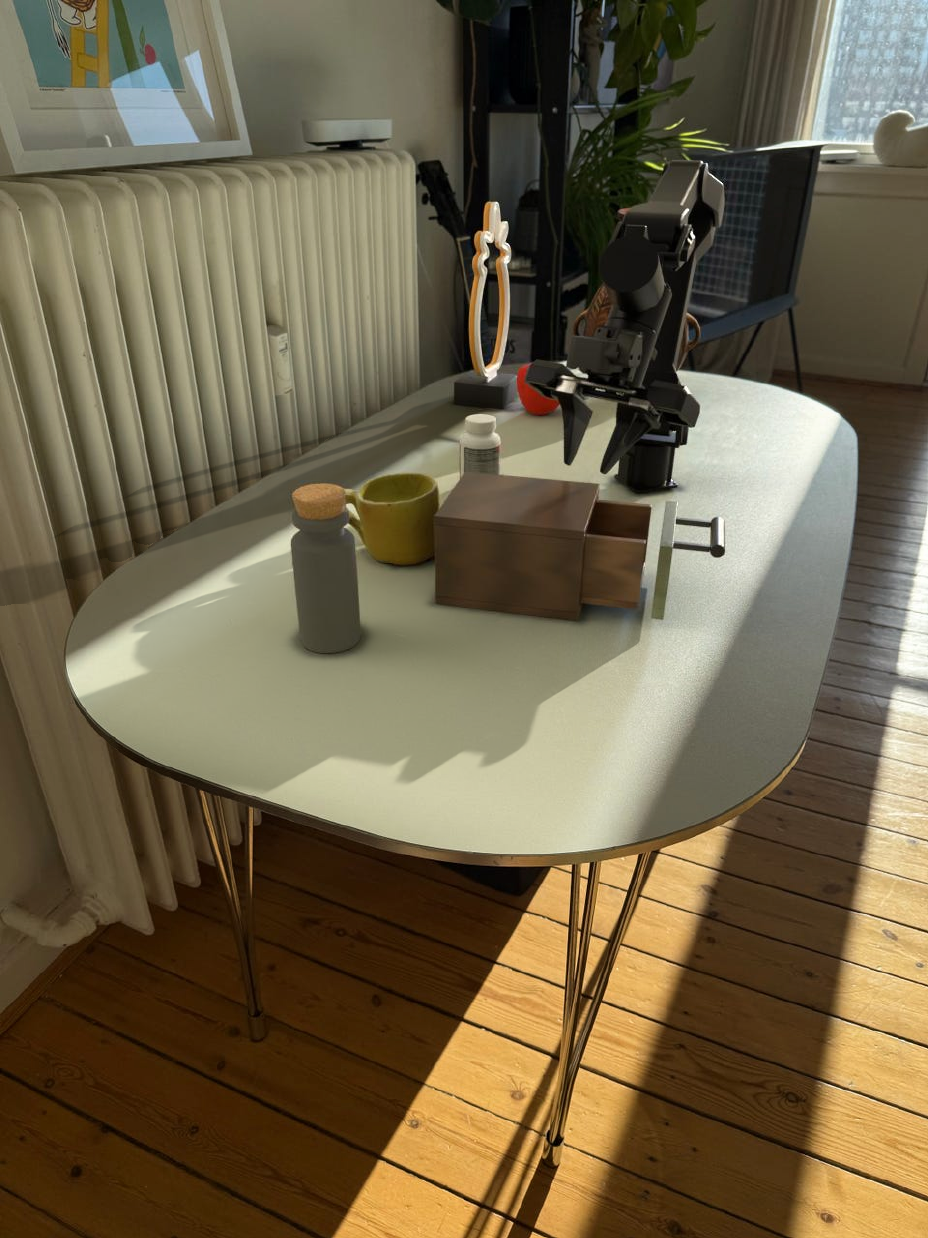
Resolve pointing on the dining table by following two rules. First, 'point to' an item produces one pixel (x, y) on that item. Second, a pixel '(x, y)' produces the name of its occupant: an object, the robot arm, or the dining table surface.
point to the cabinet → (513, 544)
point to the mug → (396, 517)
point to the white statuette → (482, 381)
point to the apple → (533, 396)
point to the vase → (601, 310)
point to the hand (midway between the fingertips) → (584, 468)
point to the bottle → (325, 570)
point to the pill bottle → (480, 445)
